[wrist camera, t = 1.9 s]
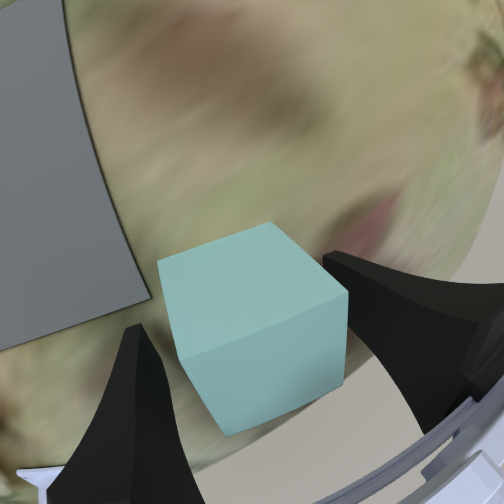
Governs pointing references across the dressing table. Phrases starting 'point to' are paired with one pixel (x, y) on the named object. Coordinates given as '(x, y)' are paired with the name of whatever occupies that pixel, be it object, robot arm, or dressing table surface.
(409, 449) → the robot arm
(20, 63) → the mat
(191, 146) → the dressing table surface
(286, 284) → the teal brick
